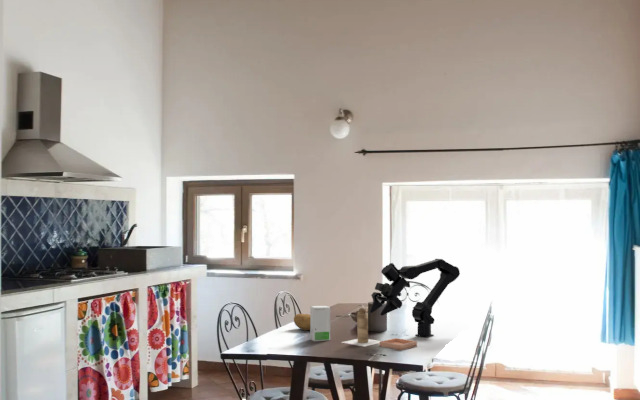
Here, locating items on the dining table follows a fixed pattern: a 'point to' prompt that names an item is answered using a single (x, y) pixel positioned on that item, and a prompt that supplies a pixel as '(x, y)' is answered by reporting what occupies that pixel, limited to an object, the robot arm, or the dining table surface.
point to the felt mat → (355, 342)
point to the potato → (302, 321)
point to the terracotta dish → (398, 344)
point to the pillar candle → (377, 319)
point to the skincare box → (320, 323)
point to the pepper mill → (362, 326)
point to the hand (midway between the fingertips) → (375, 313)
